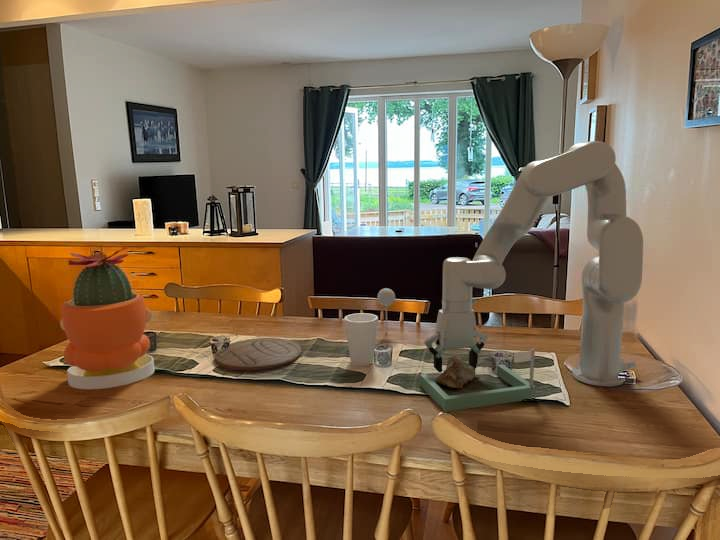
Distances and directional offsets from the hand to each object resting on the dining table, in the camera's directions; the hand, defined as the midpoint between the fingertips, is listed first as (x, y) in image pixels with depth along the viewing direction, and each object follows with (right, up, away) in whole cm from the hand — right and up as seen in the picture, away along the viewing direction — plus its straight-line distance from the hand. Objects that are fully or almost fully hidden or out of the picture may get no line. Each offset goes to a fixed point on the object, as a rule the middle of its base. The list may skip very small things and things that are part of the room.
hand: (455, 368), depth 144 cm
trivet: (-55, 0, +18) cm, 58 cm away
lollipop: (-16, +5, +38) cm, 42 cm away
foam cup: (-25, 0, +12) cm, 27 cm away
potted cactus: (-91, -3, +3) cm, 91 cm away
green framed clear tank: (+3, -4, -10) cm, 11 cm away
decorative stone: (-1, -3, -3) cm, 4 cm away
